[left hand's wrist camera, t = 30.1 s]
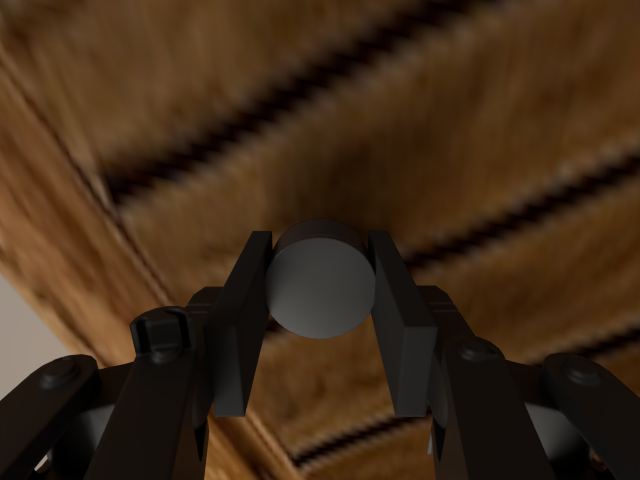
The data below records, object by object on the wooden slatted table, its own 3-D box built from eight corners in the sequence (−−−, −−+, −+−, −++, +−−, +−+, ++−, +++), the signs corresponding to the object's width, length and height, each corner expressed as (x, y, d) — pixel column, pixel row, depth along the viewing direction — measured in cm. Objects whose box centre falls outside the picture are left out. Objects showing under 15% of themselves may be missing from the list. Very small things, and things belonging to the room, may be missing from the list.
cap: (389, 261, 14) (401, 287, 12) (323, 323, 16) (324, 357, 14) (316, 197, 14) (315, 213, 11) (250, 268, 15) (239, 295, 13)
